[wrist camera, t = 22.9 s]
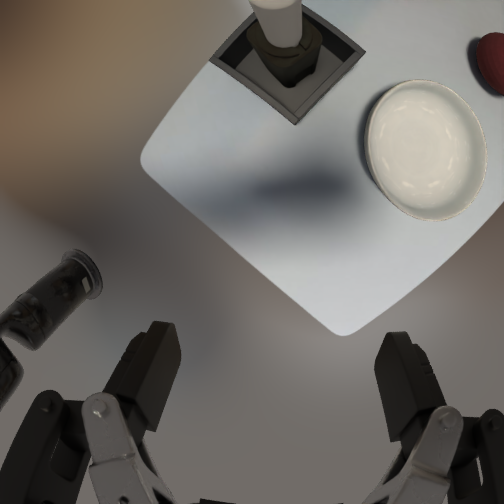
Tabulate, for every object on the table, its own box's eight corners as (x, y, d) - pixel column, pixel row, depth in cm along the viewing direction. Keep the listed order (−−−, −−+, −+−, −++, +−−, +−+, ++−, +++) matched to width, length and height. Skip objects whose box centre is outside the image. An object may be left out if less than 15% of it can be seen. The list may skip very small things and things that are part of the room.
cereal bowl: (478, 144, 27) (505, 151, 21) (419, 227, 35) (439, 248, 28) (395, 62, 25) (415, 50, 19) (331, 153, 33) (337, 160, 27)
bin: (295, 125, 32) (293, 124, 25) (227, 72, 30) (208, 60, 23) (353, 66, 27) (366, 51, 20) (283, 14, 25) (278, -11, 18)
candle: (288, 91, 30) (257, 18, 8) (261, 63, 28) (182, -35, 6) (319, 69, 28) (351, -34, 6) (292, 41, 26) (268, -84, 4)
